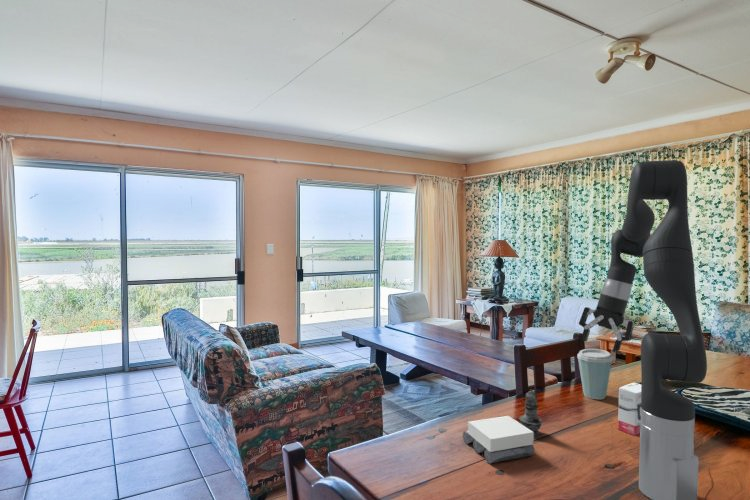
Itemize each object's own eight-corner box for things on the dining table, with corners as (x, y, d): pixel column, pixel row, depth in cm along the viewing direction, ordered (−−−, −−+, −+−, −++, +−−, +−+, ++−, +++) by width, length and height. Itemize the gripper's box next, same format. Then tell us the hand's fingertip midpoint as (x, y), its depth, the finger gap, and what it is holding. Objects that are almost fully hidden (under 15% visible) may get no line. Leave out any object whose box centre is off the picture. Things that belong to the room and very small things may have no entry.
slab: (533, 444, 105) (533, 432, 105) (490, 452, 101) (490, 439, 101) (508, 426, 114) (508, 415, 114) (467, 433, 110) (468, 421, 110)
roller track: (534, 457, 104) (534, 445, 104) (491, 465, 101) (491, 453, 100) (502, 434, 117) (502, 423, 117) (462, 440, 113) (462, 429, 113)
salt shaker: (523, 425, 122) (524, 383, 122) (545, 432, 118) (546, 388, 118) (515, 433, 117) (516, 389, 117) (537, 439, 114) (538, 394, 113)
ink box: (635, 436, 116) (637, 392, 116) (616, 429, 120) (618, 387, 120) (651, 428, 121) (652, 386, 120) (632, 422, 125) (633, 381, 125)
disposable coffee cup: (603, 404, 138) (604, 357, 137) (570, 395, 146) (571, 350, 145) (617, 397, 144) (618, 352, 144) (584, 388, 153) (585, 345, 152)
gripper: (586, 288, 133) (571, 338, 135) (638, 302, 124) (622, 356, 125) (593, 289, 139) (578, 337, 140) (643, 303, 130) (627, 354, 131)
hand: (599, 346), depth 133 cm, fingers open, 8 cm apart
